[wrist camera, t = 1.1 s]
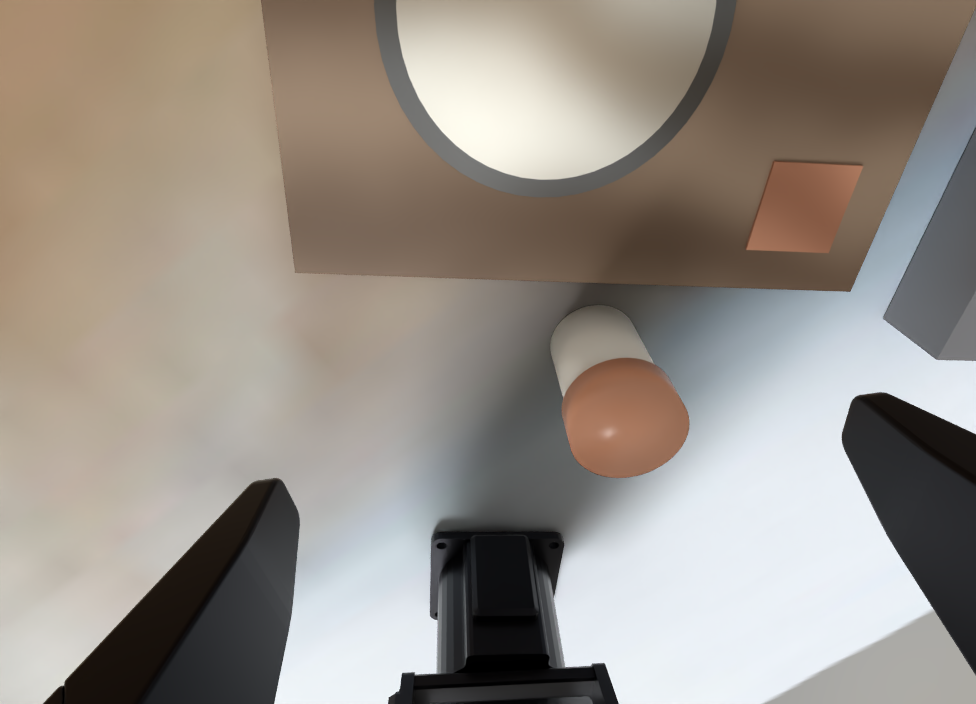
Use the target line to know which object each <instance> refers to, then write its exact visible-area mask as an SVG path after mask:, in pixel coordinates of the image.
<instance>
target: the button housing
mask: <svg viewBox="0 0 976 704" xmlns="http://www.w3.org/2000/svg"><path fill="white" fill-rule="evenodd" d="M883 319H884V320H885V321H887V322H888V323H889V324H891V325H892V326H893V327H895V328H896V329H897V330H898V331H900V332H901V333H902V334H904V335H905V336H906V337H908V338H909V339H910V340H912V341H913V342H914V343H915V344H917V345H918V346H919V347H921V348H922V349H923V350H925V351H926V352H927V353H928V354H930V355H931V356H932V357H934V358H935V359H936V360H965V361H976V129H975V131H974V133H973V135H972V137H971V139H970V141H969V143H968V145H967V147H966V149H965V152H964V154H963V156H962V158H961V160H960V162H959V164H958V166H957V168H956V170H955V172H954V174H953V176H952V178H951V180H950V182H949V184H948V186H947V188H946V190H945V193H944V195H943V197H942V199H941V201H940V203H939V205H938V207H937V209H936V211H935V213H934V215H933V217H932V219H931V221H930V223H929V225H928V227H927V229H926V232H925V234H924V236H923V238H922V240H921V242H920V244H919V246H918V248H917V250H916V252H915V254H914V256H913V258H912V260H911V262H910V264H909V266H908V268H907V270H906V273H905V275H904V277H903V279H902V281H901V283H900V285H899V287H898V289H897V291H896V293H895V295H894V297H893V299H892V301H891V303H890V305H889V307H888V309H887V312H886V314H885V316H884V318H883Z"/></svg>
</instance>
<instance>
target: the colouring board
mask: <svg viewBox="0 0 976 704" xmlns="http://www.w3.org/2000/svg"><path fill="white" fill-rule="evenodd" d="M261 4H262V12H263V20H264V28H265V36H266V44H267V52H268V60H269V68H270V76H271V84H272V92H273V100H274V108H275V116H276V124H277V131H278V139H279V147H280V155H281V163H282V171H283V179H284V187H285V195H286V203H287V211H288V219H289V227H290V235H291V243H292V251H293V259H294V267H295V273H314V274H344V275H373V276H403V277H432V278H462V279H492V280H521V281H551V282H580V283H610V284H639V285H669V286H699V287H728V288H758V289H787V290H817V291H846V292H850V291H851V289H852V287H853V284H854V282H855V280H856V277H857V275H858V273H859V271H860V268H861V266H862V264H863V262H864V259H865V257H866V255H867V253H868V250H869V248H870V246H871V243H872V241H873V239H874V237H875V234H876V232H877V230H878V228H879V225H880V223H881V221H882V218H883V216H884V214H885V212H886V209H887V207H888V205H889V203H890V200H891V198H892V196H893V193H894V191H895V189H896V187H897V184H898V182H899V180H900V178H901V175H902V173H903V171H904V169H905V166H906V164H907V162H908V159H909V157H910V155H911V153H912V150H913V148H914V146H915V144H916V141H917V139H918V137H919V134H920V132H921V130H922V128H923V125H924V123H925V121H926V119H927V116H928V114H929V112H930V110H931V107H932V105H933V103H934V100H935V98H936V96H937V94H938V91H939V89H940V87H941V85H942V82H943V80H944V78H945V75H946V73H947V71H948V69H949V66H950V64H951V62H952V60H953V57H954V55H955V53H956V50H957V48H958V46H959V44H960V41H961V39H962V37H963V35H964V32H965V30H966V28H967V26H968V23H969V21H970V19H971V16H972V14H973V12H974V10H975V7H976V0H261Z"/></svg>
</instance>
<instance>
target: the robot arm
mask: <svg viewBox="0 0 976 704" xmlns="http://www.w3.org/2000/svg"><path fill="white" fill-rule="evenodd" d="M842 444H843V447H844V450H845V452H846V454H847V456H848V458H849V460H850V462H851V464H852V466H853V468H854V470H855V472H856V474H857V476H858V478H859V480H860V482H861V484H862V486H863V488H864V490H865V492H866V494H867V496H868V498H869V500H870V502H871V505H872V507H873V509H874V511H875V513H876V515H877V517H878V519H879V521H880V523H881V525H882V526H883V528H884V530H885V532H886V534H887V536H888V537H889V539H890V541H891V542H892V544H893V546H894V547H895V549H896V551H897V552H898V554H899V555H900V557H901V559H902V560H903V562H904V563H905V565H906V566H907V568H908V570H909V571H910V573H911V574H912V576H913V577H914V579H915V581H916V582H917V584H918V585H919V587H920V588H921V590H922V592H923V593H924V595H925V596H926V598H927V599H928V601H929V603H930V604H931V606H932V607H933V609H934V610H935V612H936V614H937V615H938V617H939V618H940V620H941V621H942V623H943V625H944V626H945V628H946V629H947V631H948V632H949V634H950V635H951V637H952V639H953V640H954V642H955V643H956V645H957V646H958V648H959V650H960V651H961V653H962V654H963V656H964V658H965V659H966V661H967V662H968V664H969V665H970V667H971V669H972V670H973V672H974V673H975V675H976V434H974V433H972V432H970V431H968V430H965V429H963V428H961V427H959V426H957V425H955V424H952V423H950V422H948V421H946V420H944V419H942V418H940V417H937V416H935V415H933V414H931V413H929V412H927V411H925V410H922V409H920V408H918V407H916V406H914V405H912V404H909V403H907V402H905V401H903V400H901V399H899V398H897V397H894V396H892V395H890V394H887V393H882V392H879V393H872V394H864V395H859V396H856V397H855V398H854V399H853V400H852V402H851V405H850V408H849V411H848V415H847V418H846V422H845V425H844V428H843V432H842ZM299 528H300V518H299V513H298V510H297V508H296V506H295V504H294V502H293V500H292V498H291V496H290V494H289V492H288V490H287V488H286V486H285V484H284V483H283V481H282V480H280V479H279V478H272V479H265V480H258V481H255V482H253V483H251V484H250V485H249V486H248V487H247V488H246V489H245V490H244V491H243V492H242V494H241V495H240V496H239V497H238V498H237V499H236V500H235V501H234V502H233V503H232V504H231V505H230V506H229V507H228V508H227V509H226V511H225V512H224V513H223V514H222V515H221V516H220V517H219V518H218V519H217V520H216V521H215V522H214V523H213V524H212V525H211V526H210V527H209V529H208V530H207V531H206V532H205V533H204V534H203V535H202V536H201V537H200V538H199V539H198V540H197V541H196V542H195V543H194V544H193V546H192V547H191V548H190V549H189V550H188V551H187V552H186V553H185V554H184V555H183V556H182V557H181V558H180V559H179V560H178V561H177V562H176V564H175V565H174V566H173V567H172V568H171V569H170V570H169V571H168V572H167V573H166V574H165V575H164V576H163V577H162V578H161V579H160V580H159V582H158V583H157V584H156V585H155V586H154V587H153V588H152V589H151V590H150V591H149V592H148V593H147V594H146V595H145V596H144V597H143V599H142V600H141V601H140V602H139V603H138V604H137V605H136V606H135V607H134V608H133V609H132V610H131V611H130V612H129V613H128V614H127V615H126V617H125V618H124V619H123V620H122V621H121V622H120V623H119V624H118V625H117V626H116V627H115V628H114V629H113V630H112V631H111V632H110V633H109V635H108V636H107V637H106V638H105V639H104V640H103V641H102V642H101V643H100V644H99V645H98V646H97V647H96V648H95V649H94V650H93V652H92V653H91V654H90V655H89V656H88V657H87V658H86V659H85V660H84V661H83V662H82V663H81V664H80V665H79V666H78V667H77V668H76V670H75V671H74V672H73V673H72V674H71V675H70V676H69V677H68V678H67V679H66V680H65V683H64V686H60V687H58V688H57V689H56V690H55V692H54V693H53V694H52V695H51V696H50V697H49V698H48V699H47V700H46V701H45V702H44V703H43V704H274V701H275V696H276V691H277V686H278V681H279V676H280V671H281V666H282V661H283V656H284V651H285V646H286V641H287V636H288V632H289V626H290V620H291V614H292V605H293V595H294V584H295V573H296V561H297V550H298V539H299ZM440 542H443V543H440ZM563 548H564V541H563V536H562V535H561V534H560V533H557V532H440V533H436V534H434V535H433V536H432V539H431V585H430V616H431V618H433V619H435V620H438V629H437V674H419V675H415V672H411V673H402V678H401V686H400V689H399V692H396V693H395V694H394V695H392V696H391V697H389V701H388V704H619V703H618V701H617V698H616V695H615V692H614V689H613V686H612V683H611V680H610V677H609V674H608V671H607V669H606V666H605V663H596V664H592V665H591V666H582V667H565V663H564V657H563V651H562V645H561V639H560V633H559V627H558V621H557V615H556V609H555V604H554V594H555V589H556V583H557V578H558V573H559V568H560V563H561V558H562V553H563Z"/></svg>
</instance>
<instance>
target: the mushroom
mask: <svg viewBox="0 0 976 704" xmlns="http://www.w3.org/2000/svg"><path fill="white" fill-rule="evenodd" d="M550 350H551V355H552V359H553V362H554V366H555V370H556V373H557V377H558V381H559V384H560V388H561V392H562V395H563V402H562V417H563V421H564V425H565V429H566V433H567V437H568V441H569V444H570V448H571V452H572V454H573V456H574V457H575V459H576V460H577V462H578V463H579V464H580V465H581V466H583V467H584V468H585V469H587V470H589V471H590V472H592V473H595V474H597V475H601V476H605V477H611V478H626V477H633V476H638V475H641V474H644V473H648V472H650V471H652V470H654V469H656V468H658V467H660V466H662V465H663V464H665V463H666V462H667V461H669V460H670V459H671V458H672V457H673V456H674V455H675V454H676V453H677V452H678V451H679V449H680V448H681V447H682V445H683V443H684V442H685V440H686V437H687V435H688V431H689V416H688V412H687V410H686V408H685V406H684V404H683V402H682V400H681V399H680V397H679V395H678V393H677V392H676V390H675V388H674V386H673V384H672V383H671V381H670V379H669V377H668V376H667V375H666V373H665V372H664V371H663V370H662V369H661V368H659V367H658V366H656V365H655V364H654V363H653V361H652V359H651V357H650V355H649V353H648V351H647V350H646V348H645V346H644V344H643V342H642V340H641V338H640V337H639V335H638V333H637V331H636V329H635V327H634V325H633V324H632V322H631V320H630V319H629V318H628V317H627V316H626V315H625V314H624V313H623V312H621V311H620V310H618V309H616V308H613V307H610V306H605V305H592V306H587V307H583V308H580V309H578V310H576V311H574V312H572V313H570V314H569V315H567V316H566V317H565V318H564V319H563V320H562V321H561V322H560V323H559V324H558V325H557V327H556V328H555V330H554V332H553V335H552V337H551V342H550Z"/></svg>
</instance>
